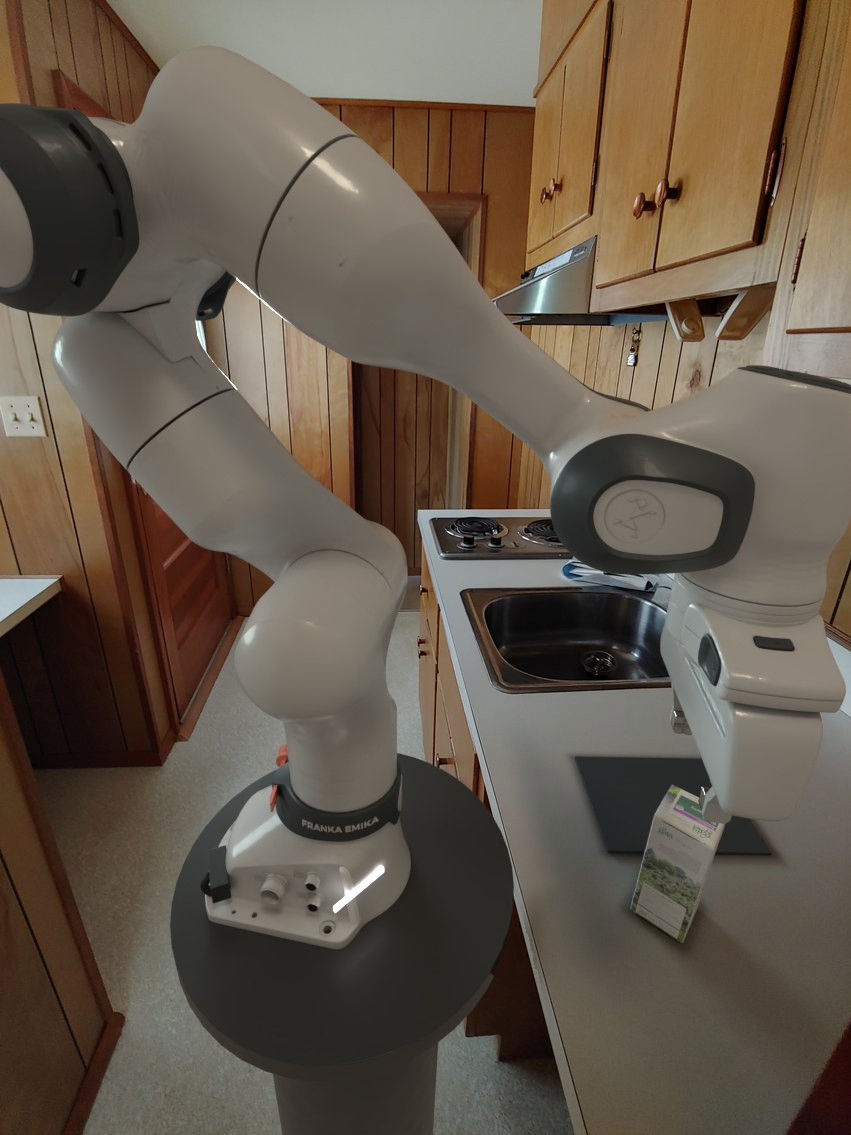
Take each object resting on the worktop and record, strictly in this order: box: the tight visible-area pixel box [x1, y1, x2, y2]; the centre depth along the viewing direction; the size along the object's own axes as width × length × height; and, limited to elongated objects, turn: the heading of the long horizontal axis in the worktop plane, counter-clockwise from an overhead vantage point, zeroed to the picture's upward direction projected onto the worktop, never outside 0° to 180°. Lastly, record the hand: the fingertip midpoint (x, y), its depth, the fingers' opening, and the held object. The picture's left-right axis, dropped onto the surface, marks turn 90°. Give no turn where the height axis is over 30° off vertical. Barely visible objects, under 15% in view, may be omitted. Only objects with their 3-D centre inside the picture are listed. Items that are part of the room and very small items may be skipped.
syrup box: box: [630, 785, 726, 944], centre depth 57 cm, size 6×6×14 cm
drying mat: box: [574, 755, 773, 856], centre depth 74 cm, size 20×16×1 cm
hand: (695, 767), depth 44 cm, fingers open, 8 cm apart
